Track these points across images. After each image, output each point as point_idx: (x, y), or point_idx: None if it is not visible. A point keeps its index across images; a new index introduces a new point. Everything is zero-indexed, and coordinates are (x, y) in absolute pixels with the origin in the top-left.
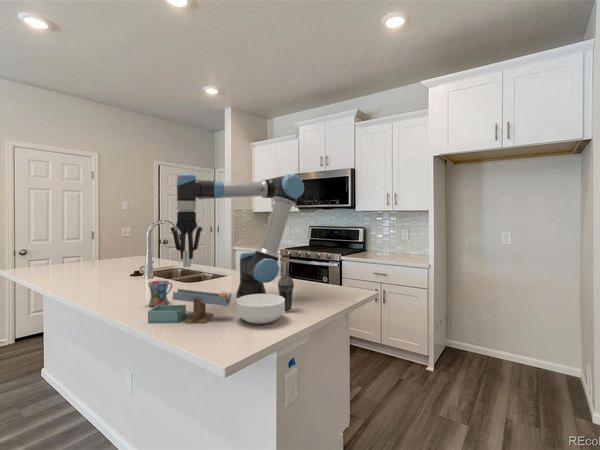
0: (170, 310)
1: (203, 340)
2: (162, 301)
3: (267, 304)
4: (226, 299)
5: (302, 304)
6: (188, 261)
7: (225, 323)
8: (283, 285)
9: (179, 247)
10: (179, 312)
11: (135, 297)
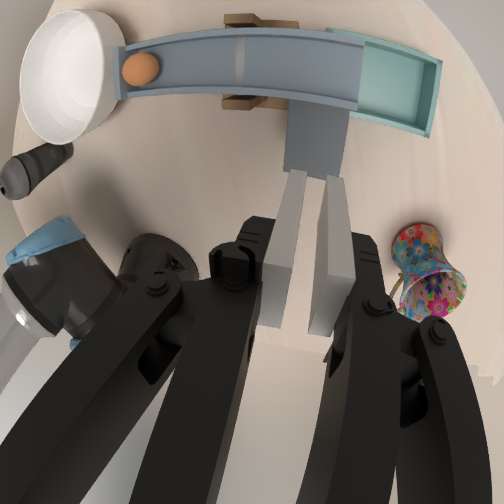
0: (376, 114)
1: None
2: (411, 237)
3: (73, 129)
4: (128, 46)
5: (55, 191)
6: (288, 193)
7: (169, 26)
8: (14, 159)
9: (408, 359)
10: None
11: (456, 315)
